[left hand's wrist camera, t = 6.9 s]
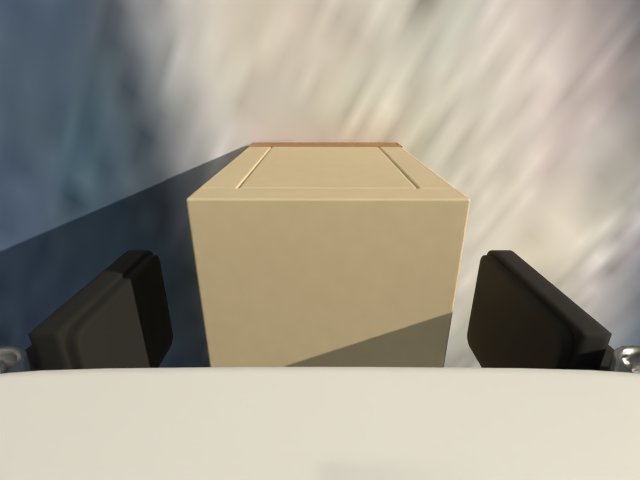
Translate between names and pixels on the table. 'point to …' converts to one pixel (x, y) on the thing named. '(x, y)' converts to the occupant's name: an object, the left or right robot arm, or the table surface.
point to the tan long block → (327, 257)
